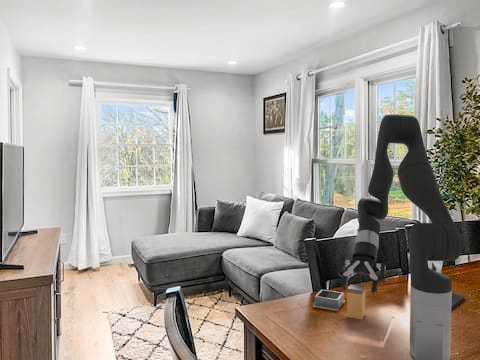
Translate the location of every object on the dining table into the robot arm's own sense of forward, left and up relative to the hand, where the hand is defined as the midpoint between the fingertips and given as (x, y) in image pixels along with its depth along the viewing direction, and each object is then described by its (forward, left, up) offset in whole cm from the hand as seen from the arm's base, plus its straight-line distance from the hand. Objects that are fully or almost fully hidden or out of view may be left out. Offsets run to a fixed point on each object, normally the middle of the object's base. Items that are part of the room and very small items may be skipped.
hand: (358, 290), depth 124 cm
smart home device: (+23, -23, -9) cm, 34 cm away
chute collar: (+3, +10, -7) cm, 12 cm away
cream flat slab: (+3, +10, -8) cm, 13 cm away
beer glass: (+41, -19, -8) cm, 46 cm away
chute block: (-3, 0, -8) cm, 8 cm away
